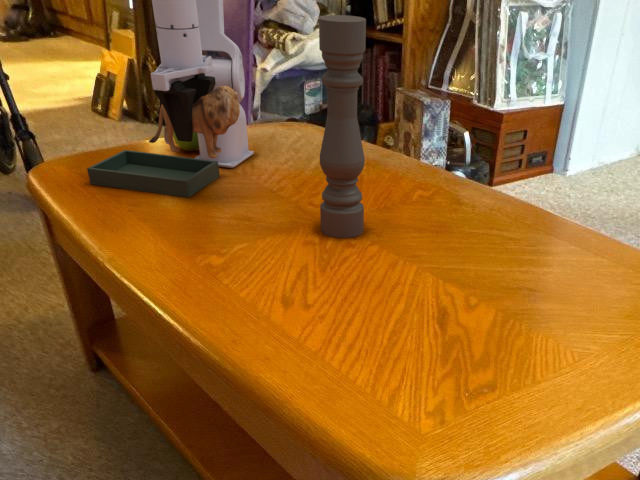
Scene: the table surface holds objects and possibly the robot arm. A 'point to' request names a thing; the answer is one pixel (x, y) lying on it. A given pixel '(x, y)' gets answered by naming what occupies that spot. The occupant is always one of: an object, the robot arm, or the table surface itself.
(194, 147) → the snail figurine
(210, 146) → the lion figurine
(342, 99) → the candle holder
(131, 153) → the tray
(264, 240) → the table surface
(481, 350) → the table surface
